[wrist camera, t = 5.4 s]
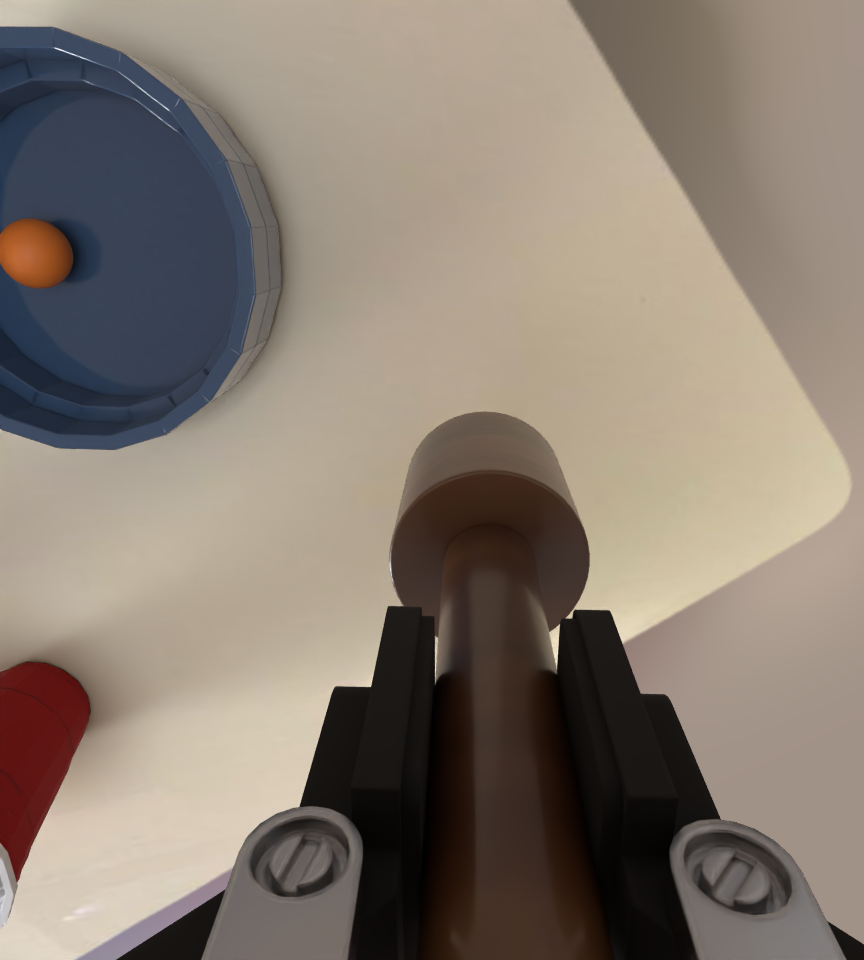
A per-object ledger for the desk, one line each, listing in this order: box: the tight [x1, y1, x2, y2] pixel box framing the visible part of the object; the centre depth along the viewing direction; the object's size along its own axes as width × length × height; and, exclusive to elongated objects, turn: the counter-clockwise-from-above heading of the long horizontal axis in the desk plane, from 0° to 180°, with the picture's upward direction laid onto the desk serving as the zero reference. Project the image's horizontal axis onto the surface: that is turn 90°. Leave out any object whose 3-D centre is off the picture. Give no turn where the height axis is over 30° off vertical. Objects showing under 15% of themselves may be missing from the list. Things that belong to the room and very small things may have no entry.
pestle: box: [389, 412, 615, 960], centre depth 13 cm, size 4×4×15 cm
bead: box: [0, 218, 73, 289], centre depth 32 cm, size 3×3×3 cm
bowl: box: [0, 27, 282, 450], centre depth 32 cm, size 16×16×5 cm
